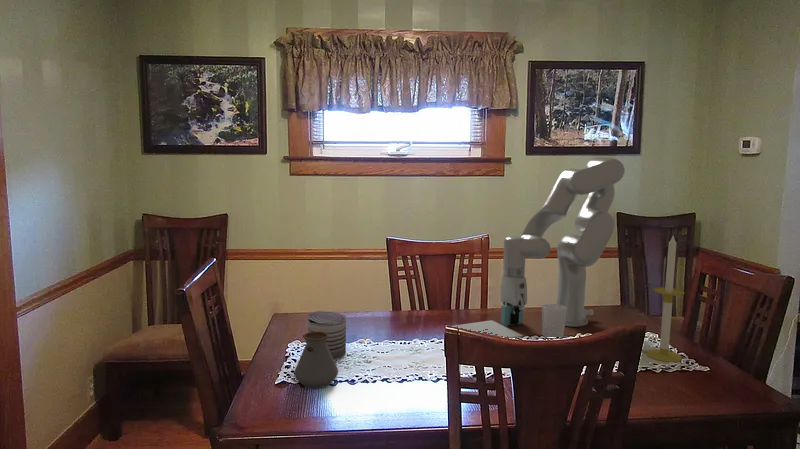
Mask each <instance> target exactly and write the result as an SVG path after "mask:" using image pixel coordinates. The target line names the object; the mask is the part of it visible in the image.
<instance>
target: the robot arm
mask: <svg viewBox="0 0 800 449" xmlns="http://www.w3.org/2000/svg"><path fill="white" fill-rule="evenodd" d="M624 176H625V166H624V163H622V161H621V160H619V159H617V158H610V157H594V158H591V159H590V160H589V161H587V163H586V166H585V168H583V169H579V168H578V169H577V168H568V169H565V170H563V171H562V172H561V173H560V175H559V176H558V178H557V180H556V181H555V183H554V185H553V187H552V189H551V191H550V193H549V194H548V197H547V198H546V200H545V202H544V204H543V206H541V208H539V210H537V212H536V213H535V214H533V216H532V217H531V218H529V221H528V222H527V224H526V226H525V227H524V228H523V231H522V233H521V235H520V236H515V235H513V236H507V237H505V238H504V241H503V262H502V263H503V264H502V277H501V283H500V293H499V294H500V301H501V303H502V304H503V305H512V313H511V320H510V324H511V326H515V325H514V324H517V325H519V324H518V323H519V313H520V311H521V310H523V311H524V310H525V309H526V307H525V306H526V305H527V303H528V286H527V284H528V283H527V279H526V277H525V274H526V259H535V260H543V259H545V258H546V257H548V256H549V255H550V253H551V245H550V243H549V241H548V240H547V239H545V238H543V236H544V235H545V233H546V231H547V230H548V229H549V228H550V227H551V226H552V225H554V224H555V223H557V222H559V221H561V220H563V219H564V218H566V217H567V215H568V213H569V211H570V210H571V208H572V207H573V204H574V202H575V200H576V199H577V197H578V196H579V195H580V196H583V195H584V196H585V195H587V196H586V199H585V200H584V202H583V203H582V206H581V207H580V210H579V212H578V214H577V215H576V217H575V220H574V226H575V228H576V231H578V232H580V233H581V235H578V234H566V235H564V236H563V237H561V239H560V240H559V241H558V244H557V249H556V250H557V252H556V255H557V262H558V274H557V275H558V276H557V289H556V290H557V294H556V304H558V305H563V306H565V307H566V308H567V311H566V320H565V327H572V328H573V327H575V328H576V327H577V328H579V327H585V326H587V325H588V324H589V319H588V318H587V316H592V315H594V313H595V311H594V310H593V309H586V308H585V301H586V299H585V298H586V284H587V268H588V267H591V266H593V265H595V264H596V263H597V261H598V260H599V259H600V258H601V256H602V254H603V252H604V250H605V249H606V247H607V245H608V243H609V242H610V239H611V238H612V236H613V233H614V231H615V220H614V218H613V216H612V214H611V213H609V210H610V209H611V206H612V203H613V202H614V199H615V184H617V183H618V182H620V181H621V180H622V179H623V177H624ZM503 305H502V306H503ZM515 307H517V308H516V309H515Z"/></svg>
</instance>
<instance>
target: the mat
mask: <svg viewBox="0 0 800 449" xmlns="http://www.w3.org/2000/svg"><path fill="white" fill-rule="evenodd" d="M451 326H452V327H457V326H458V328H463V329H467V330H470V329H471V331H476V332H478V331H481V332H480V333H483V332H487V334H488V333H491V332H492V333H493V334H490V335H495V334H498V335H497V336H503V337H507V336H508V337H509V338H515V339H518V338H517V337H521V338H524V335H523V334H521V333H519V332H518V331H515V330H513V329H510V328H509V327H508V326H503V325H501V323H498V322H496V321H495V320H493V319H492V320H491V319H490V320H484V321H477V322H472V323H471V322H470V323H469V322H468V323H463V324H457V325H456V324H455V325H451ZM485 329H488V330H485ZM483 330H484V331H483Z"/></svg>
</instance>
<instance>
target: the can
mask: <svg viewBox="0 0 800 449" xmlns="http://www.w3.org/2000/svg"><path fill="white" fill-rule="evenodd" d="M346 330H347V318H346V315H345V314H341V313H339V312H336V311H333V310H332V311H330V310H328V311H327V310H316V311H313V312H309V313H307V333H310V332H325V333H327V334H328V338H327V340H326V344H327V346H328V348H329V350H330V353H331V355H332V357H333V359H334V361H335V360H338V359H342V358H343V357H344V356H346V353H347V351H346V350H347V336H346V335H347V331H346Z"/></svg>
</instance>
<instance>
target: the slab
mask: <svg viewBox="0 0 800 449" xmlns="http://www.w3.org/2000/svg"><path fill="white" fill-rule="evenodd" d="M516 308H517V307H515V309H516ZM511 313H512V305H501V308H500V324H501V325H503V326H505V327H509V326H508V325H511V324H510V320H511ZM523 321H524V310H521V311H520V313H519V323H518V324H517V325H522V324H521V323H523ZM511 326H512V325H511ZM513 326H516V325H515V324H514V325H513Z"/></svg>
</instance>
